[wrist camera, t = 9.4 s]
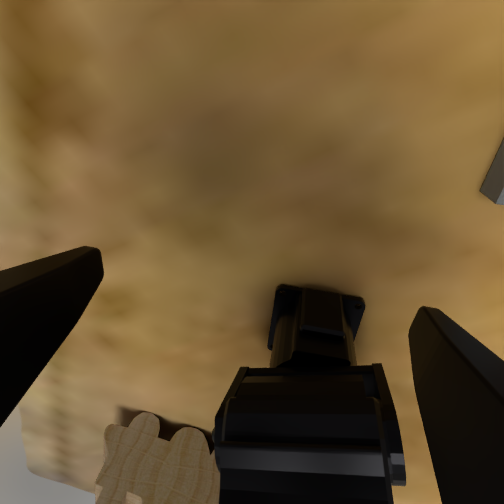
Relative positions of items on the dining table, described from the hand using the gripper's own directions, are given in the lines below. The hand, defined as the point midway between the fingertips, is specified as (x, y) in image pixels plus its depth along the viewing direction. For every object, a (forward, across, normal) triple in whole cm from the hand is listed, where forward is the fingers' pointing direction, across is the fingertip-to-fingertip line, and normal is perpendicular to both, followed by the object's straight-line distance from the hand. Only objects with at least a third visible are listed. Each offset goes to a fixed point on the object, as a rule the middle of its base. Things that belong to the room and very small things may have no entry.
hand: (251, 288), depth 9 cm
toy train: (+13, +6, +32) cm, 35 cm away
